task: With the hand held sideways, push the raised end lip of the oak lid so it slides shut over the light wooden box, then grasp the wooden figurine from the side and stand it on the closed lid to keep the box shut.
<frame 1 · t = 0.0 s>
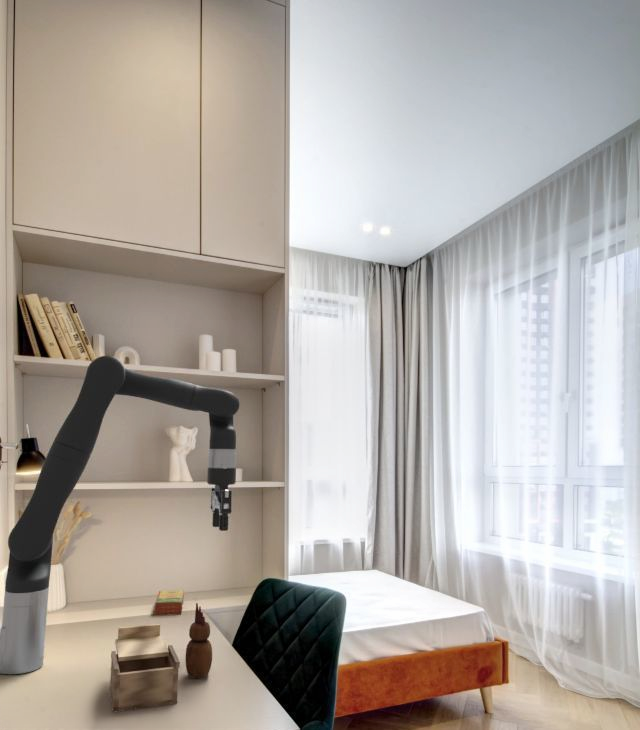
hand: (219, 528, 156), 29 cm above the table, tool pointing down, fingers open, 8 cm apart
carton: (169, 610, 190), on the table
light wooden box: (142, 695, 120), on the table
wooden figurine: (198, 676, 131), on the table
lid: (141, 641, 128), point 8 cm above the table, slide at 7.0 cm
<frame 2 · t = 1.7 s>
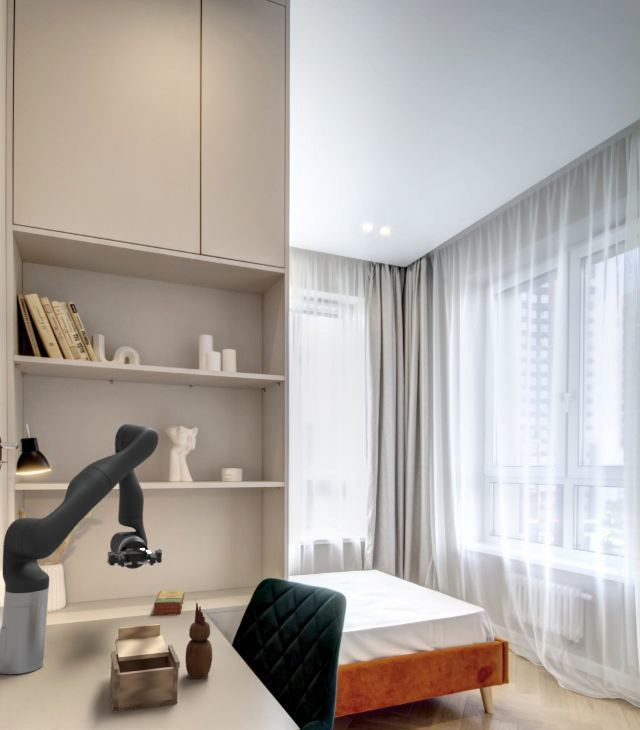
hand: (137, 561, 147), 22 cm above the table, tool horizontal, fingers open, 6 cm apart
nothing on the table moved.
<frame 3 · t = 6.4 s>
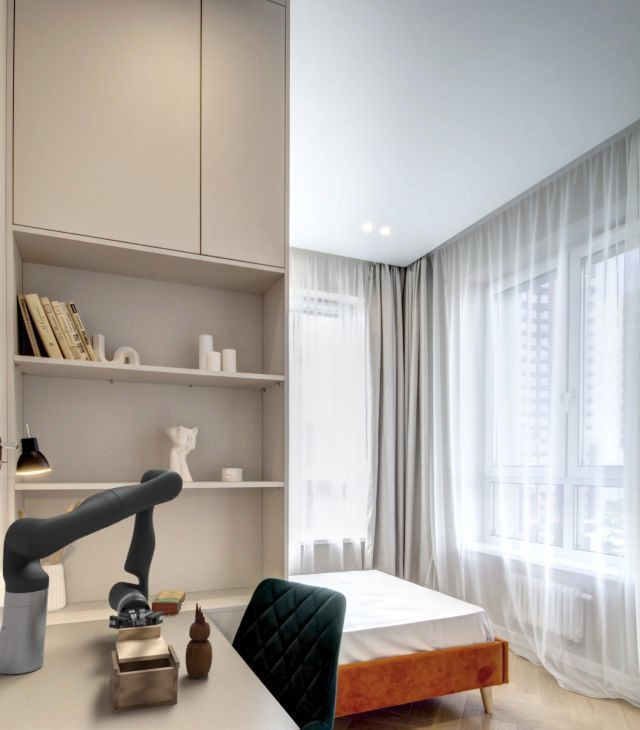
hand: (139, 629, 133), 10 cm above the table, tool horizontal, fingers closed
lid: (142, 642, 127), point 8 cm above the table, slide at 5.9 cm, touching gripper
everything else where it was.
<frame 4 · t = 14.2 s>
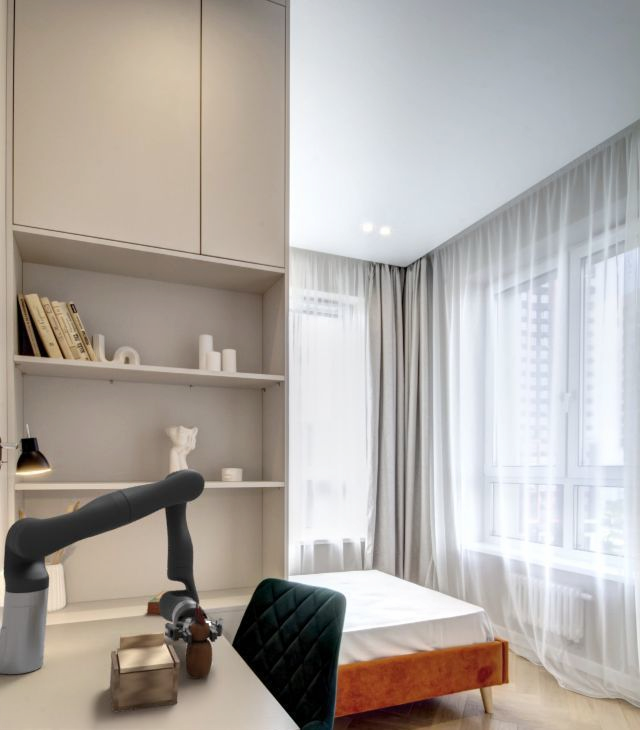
hand: (201, 638, 130), 9 cm above the table, tool horizontal, fingers closed on wooden figurine, 4 cm apart
wooden figurine: (198, 676, 131), on the table, touching gripper
lid: (144, 651, 122), point 8 cm above the table, slide at 0.0 cm
when the fingers open (17 cm above the table, at t = 19.4 s): wooden figurine stays where it is, resting on lid.
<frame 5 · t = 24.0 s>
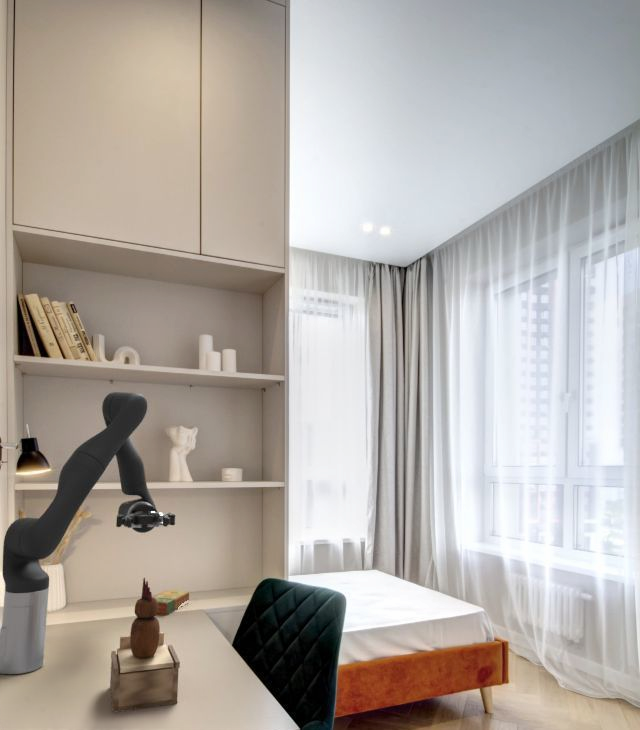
hand: (148, 522, 144), 32 cm above the table, tool horizontal, fingers open, 8 cm apart
wooden figurine: (143, 656, 121), point 7 cm above the table, touching lid
lid: (144, 651, 122), point 8 cm above the table, slide at 0.0 cm, touching wooden figurine
at the end: lid slide at 0.0 cm; wooden figurine inside the target area on the light wooden box (0.2 cm from its centre), point 7.4 cm above the light wooden box's base; wooden figurine tilted 0° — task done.
